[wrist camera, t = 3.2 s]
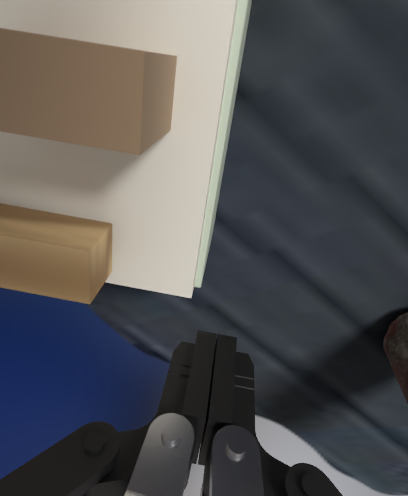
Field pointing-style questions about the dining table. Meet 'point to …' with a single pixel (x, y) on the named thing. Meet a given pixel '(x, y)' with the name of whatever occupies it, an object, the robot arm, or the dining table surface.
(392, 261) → the dining table surface
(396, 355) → the candle
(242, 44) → the light green open box
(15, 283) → the tan tapered bar
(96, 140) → the lid
